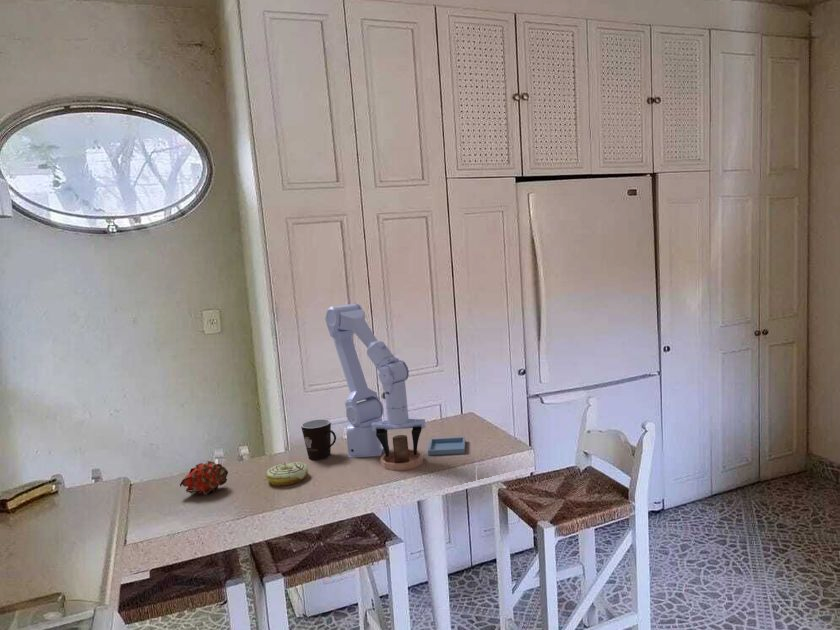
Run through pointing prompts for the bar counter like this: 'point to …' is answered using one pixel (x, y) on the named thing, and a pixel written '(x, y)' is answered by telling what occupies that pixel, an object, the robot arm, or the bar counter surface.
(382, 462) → the terracotta bowl
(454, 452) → the slate tray
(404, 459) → the walnut cylinder
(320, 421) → the coffee mug
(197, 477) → the dragon fruit
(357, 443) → the robot arm
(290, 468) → the decorated donut
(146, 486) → the bar counter surface
